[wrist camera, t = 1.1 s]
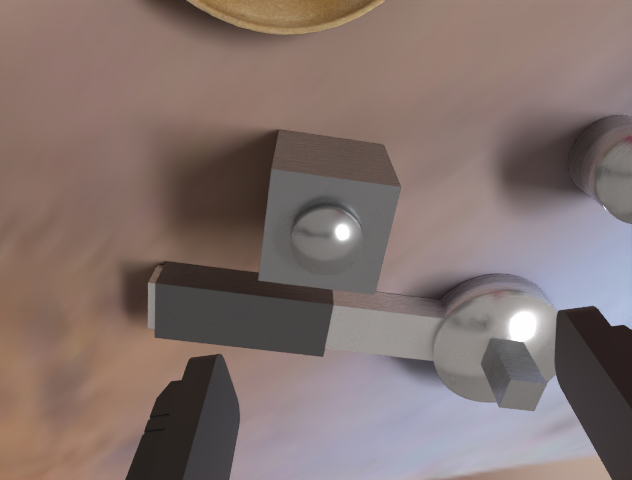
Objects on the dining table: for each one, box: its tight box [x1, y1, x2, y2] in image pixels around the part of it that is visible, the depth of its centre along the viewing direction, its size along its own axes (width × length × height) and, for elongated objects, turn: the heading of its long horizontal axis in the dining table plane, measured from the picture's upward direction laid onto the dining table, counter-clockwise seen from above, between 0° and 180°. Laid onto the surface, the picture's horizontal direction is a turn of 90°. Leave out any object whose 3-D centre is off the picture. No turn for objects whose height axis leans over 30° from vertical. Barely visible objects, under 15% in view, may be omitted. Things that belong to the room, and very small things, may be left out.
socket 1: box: [258, 130, 401, 295], centre depth 26 cm, size 6×6×7 cm
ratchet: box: [148, 262, 558, 411], centre depth 30 cm, size 25×8×6 cm, turn 81°
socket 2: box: [568, 115, 632, 224], centre depth 26 cm, size 4×4×4 cm
